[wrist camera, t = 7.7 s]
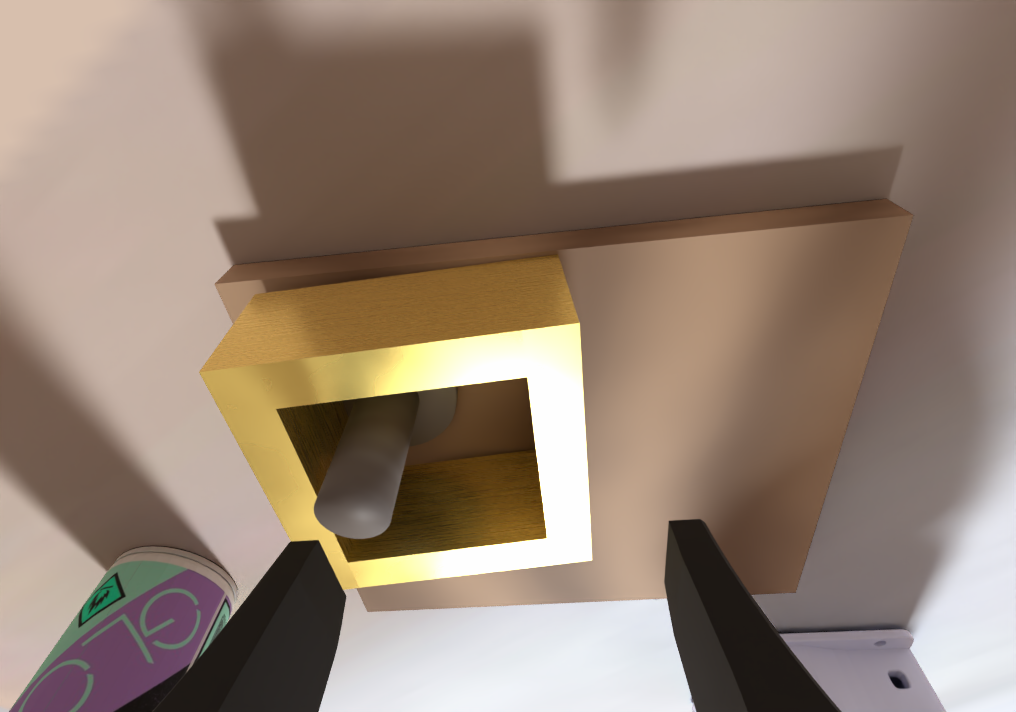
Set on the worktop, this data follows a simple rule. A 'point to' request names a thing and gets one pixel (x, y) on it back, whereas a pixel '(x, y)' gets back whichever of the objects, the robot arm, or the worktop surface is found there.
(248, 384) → the golden square frame
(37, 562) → the worktop surface
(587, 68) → the worktop surface
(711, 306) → the board
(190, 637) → the spray can
